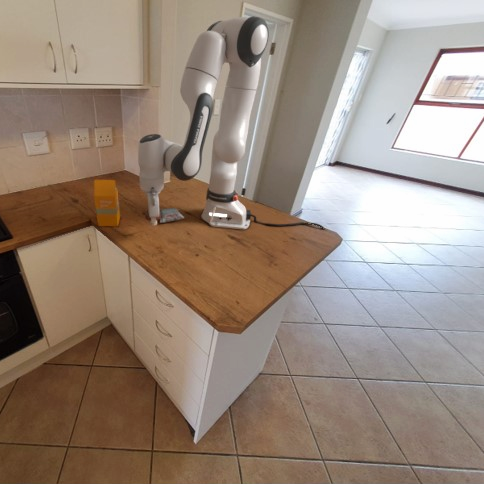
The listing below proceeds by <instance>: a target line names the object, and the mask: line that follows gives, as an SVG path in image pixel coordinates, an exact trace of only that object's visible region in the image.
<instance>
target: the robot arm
mask: <svg viewBox="0 0 484 484" xmlns="http://www.w3.org/2000/svg"><path fill="white" fill-rule="evenodd" d="M269 34H270V32H269V27H268V23H267V22H266V19H264V18H261V17H258V16H249V17H248V16H247V17H246V16H237V17H232V18H230V19H225V20H218V21H216V22H214V23H212V24H210V26H208V28H207V30H205V31H203V32H201V33H200V34H199V35H198V37H197V38H196V40H195V42H194V44H193V47H192V48H191V51H190V53H189V56H188V59H187V61H186V64H185V67H184V70H183V73H182V77H181V81H180V88H179V93H180V97H181V98H182V100H183V102H184V103H185V105H186V106H187V108H188V110H189V124H188V127H187V132H186V135H185V138H184V139H185V140H184V143H183V145H182V144H180V143H178V142H174V141H171V140H169V139H166V138H164V137H163V136H162V135H161V134H159V133H152V134H147V135H145V136H142V137H141V138H140V140H139V142H138V147H137V148H138V149H137V159H138V160H137V162H138V166H139V173H138V177H139V178H138V179H139V189H140V190H141V191H143V194H145V195H146V201H147V210H148V211H149V217H150V218H151V222H156V217H159V210H160V198H159V194H161V192H162V190H164V188H165V173H166V172H169V173H171V174H172V175H173V176H174V177H175V178H176V179H177V180H179V181H182V182H187V181H190V180H192V179H194V178H195V177H196V176H197V175H198V174H199V172H200V170H201V167H202V161H203V150H204V147H205V143H206V139H207V136H208V131H209V128H210V124H211V120H212V115H213V112H214V111H213V110H214V95H215V91H216V87H217V85H218V81H219V78H220V76H221V72H222V69H223V66H224V64H225V63H226V64H229V71H228V75H227V78H226V81H225V82H226V83H225V88H224V93H223V98H222V104H221V108H220V115H219V116H220V117H219V125H218V130H217V131H216V133H215V134H214V135H213V140H212V149H211V150H212V151H211V161H210V162H211V163H210V173H209V174H210V175H209V183H208V187H207V189H206V194H205V195H206V196H205V198H206V199H205V200H206V201H205V205H204V209H203V211H202V213H201V219H202V220H203V221H205V223H208V224H209V226H210V227H212V228H224V229H233V230H247V229H248V228H249V227H250V224H251V217H252V218H253V222H255V223H257V224H260V225H264V226H270V227H288V226H289V227H291V226H296V225H307V226H316V225H317V226H316V227H319V226H320V227H319V228H321V227H322V228H321V230H322V231H326V229H325V227H324V226H323V225H322V224H319V223H316V222H310V223H311V224H308V223H309V222H305V221H301V222H300V221H299V222H292V223H271V222H269V223H268V222H260V221H258V220H257V216H256V215H255V214H252V212H251V209H247V208H246V206H245V205H244V204H243V203H242V202H241V201H239V197H238V195H239V193H238V191H236V190H235V186H236V180H237V175H238V162H239V161H240V160H241V159H242V158H244V155H245V153H246V146H247V139H248V134H249V128H250V119H251V115H252V114H251V113H252V111H253V106H254V102H255V99H256V94H257V90H258V87H259V82H260V75H261V69H262V68H261V67H262V56H263V54H264V53H265V51H266V48H267V45H268V42H269ZM304 222H305V223H304ZM312 224H314V225H312ZM323 228H324V229H323Z"/></svg>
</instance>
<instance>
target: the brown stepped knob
mask: <svg viewBox="0 0 484 484" xmlns="http://www.w3.org/2000/svg"><path fill="white" fill-rule="evenodd" d="M144 213H145V215H144V216H145V219H146V220H147V221H149V225H150V226H152V227H155V226H157V225H158V221H160V218H161V212H160V211H159V217H156V222H151V218H150V217H149V211H148V209H147V210H146V211H145V212H144Z"/></svg>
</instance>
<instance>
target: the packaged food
mask: <svg viewBox="0 0 484 484" xmlns="http://www.w3.org/2000/svg"><path fill="white" fill-rule="evenodd" d="M159 211H160V212H161V218H160V219H159V223H164V224H165V223H170V222H176V221H177V222H178V221H181V220H185V219H186V216H184V215H183V214H181V212H180V211H179V210H178V209H177V208H175V207H170V208H162V209H159Z"/></svg>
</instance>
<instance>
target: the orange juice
mask: <svg viewBox="0 0 484 484" xmlns="http://www.w3.org/2000/svg"><path fill="white" fill-rule="evenodd" d="M118 190H119V189H118V185H117V182H116V179H102V178H101V179H100V178H99V179H97V178H94V179H93V200H94V206H95V207H94V208H95V214H96V221H97V226H98V227H118V226H119V223H120V221H121V213H120V201H119V191H118Z"/></svg>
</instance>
